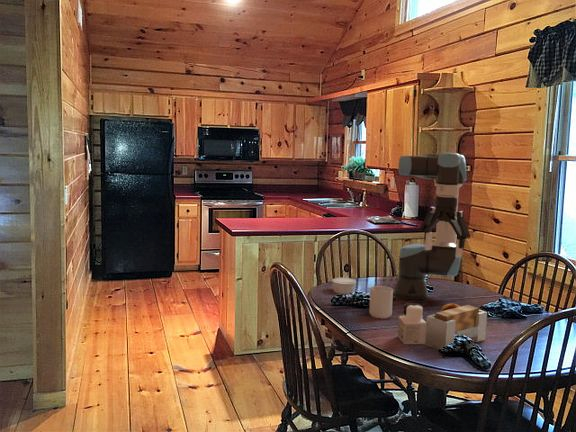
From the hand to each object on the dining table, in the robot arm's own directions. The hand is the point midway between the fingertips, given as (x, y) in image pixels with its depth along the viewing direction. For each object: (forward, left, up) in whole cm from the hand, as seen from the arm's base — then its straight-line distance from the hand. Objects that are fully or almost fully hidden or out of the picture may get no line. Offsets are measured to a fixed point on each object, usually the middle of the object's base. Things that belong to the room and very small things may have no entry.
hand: (443, 253), depth 198 cm
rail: (+7, +13, -24) cm, 28 cm away
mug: (+6, -23, -29) cm, 38 cm away
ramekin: (-4, -57, -29) cm, 64 cm away
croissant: (-14, -4, -29) cm, 33 cm away
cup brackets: (+6, +13, -29) cm, 32 cm away
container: (+18, +3, -29) cm, 34 cm away
